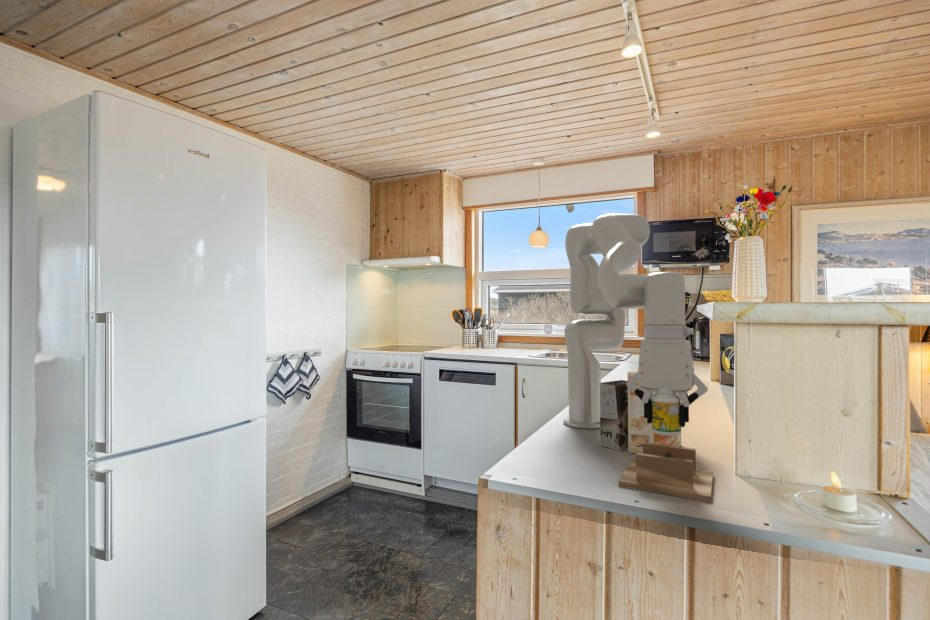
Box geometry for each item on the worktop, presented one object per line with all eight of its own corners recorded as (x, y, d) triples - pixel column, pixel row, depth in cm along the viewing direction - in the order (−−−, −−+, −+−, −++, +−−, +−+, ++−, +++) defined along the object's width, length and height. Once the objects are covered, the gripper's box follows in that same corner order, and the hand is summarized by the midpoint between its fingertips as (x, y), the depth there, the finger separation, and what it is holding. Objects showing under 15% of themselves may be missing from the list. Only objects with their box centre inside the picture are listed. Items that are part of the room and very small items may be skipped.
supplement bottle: (687, 435, 90) (686, 386, 90) (663, 437, 88) (663, 387, 88) (668, 428, 95) (667, 382, 95) (646, 430, 94) (645, 383, 94)
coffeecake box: (655, 458, 106) (654, 374, 106) (626, 452, 111) (625, 371, 111) (683, 445, 116) (682, 368, 116) (655, 439, 121) (654, 366, 121)
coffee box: (620, 451, 111) (619, 385, 111) (599, 445, 117) (598, 382, 117) (643, 445, 116) (642, 381, 116) (622, 439, 122) (621, 378, 122)
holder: (631, 464, 102) (631, 437, 102) (713, 477, 94) (712, 447, 94) (618, 486, 90) (617, 455, 90) (710, 502, 82) (710, 468, 82)
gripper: (713, 333, 91) (715, 424, 91) (624, 332, 99) (625, 415, 99) (712, 335, 84) (714, 433, 84) (616, 334, 93) (618, 423, 93)
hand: (666, 422), depth 92 cm, fingers closed on supplement bottle, 5 cm apart
